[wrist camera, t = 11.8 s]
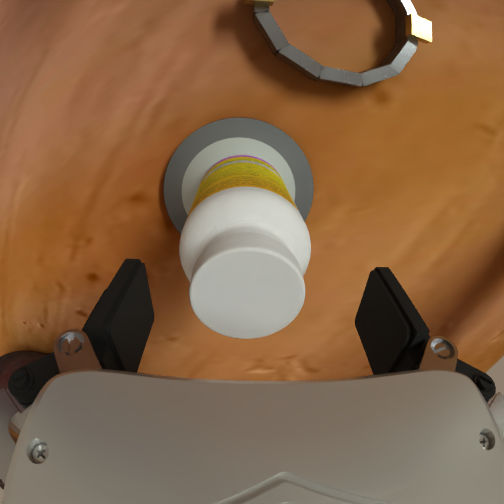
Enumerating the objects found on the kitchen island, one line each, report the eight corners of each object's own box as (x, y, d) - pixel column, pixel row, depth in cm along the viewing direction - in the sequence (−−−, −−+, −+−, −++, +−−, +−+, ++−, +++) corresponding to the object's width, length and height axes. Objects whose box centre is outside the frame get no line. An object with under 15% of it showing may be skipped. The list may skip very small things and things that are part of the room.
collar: (410, -19, 13) (427, -27, 11) (409, 101, 20) (428, 103, 17) (247, -56, 12) (249, -72, 10) (239, 74, 19) (239, 69, 16)
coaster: (317, 122, 21) (321, 124, 20) (301, 254, 27) (304, 260, 26) (164, 118, 20) (160, 119, 19) (171, 252, 26) (169, 258, 25)
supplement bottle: (187, 168, 21) (133, 253, 10) (270, 141, 20) (311, 195, 9) (217, 241, 24) (204, 364, 13) (293, 218, 24) (338, 331, 13)
